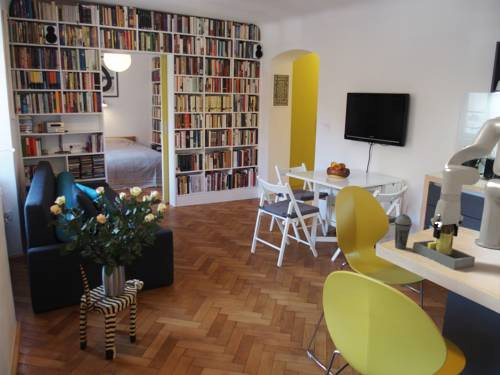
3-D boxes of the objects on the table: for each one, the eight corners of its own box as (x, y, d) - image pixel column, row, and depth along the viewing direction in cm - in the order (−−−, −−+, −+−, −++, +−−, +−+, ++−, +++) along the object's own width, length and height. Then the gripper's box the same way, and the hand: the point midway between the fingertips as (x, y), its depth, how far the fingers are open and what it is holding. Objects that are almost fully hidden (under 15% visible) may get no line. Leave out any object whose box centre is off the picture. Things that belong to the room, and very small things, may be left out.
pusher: (434, 248, 183) (435, 237, 182) (443, 252, 178) (445, 241, 177) (419, 250, 180) (421, 239, 179) (429, 254, 175) (430, 243, 174)
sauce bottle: (452, 259, 170) (459, 213, 166) (436, 258, 171) (442, 212, 167) (448, 254, 177) (454, 209, 172) (432, 252, 178) (438, 208, 174)
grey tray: (431, 248, 186) (432, 239, 185) (473, 266, 166) (475, 257, 165) (412, 250, 182) (413, 242, 181) (453, 269, 162) (455, 260, 161)
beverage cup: (389, 244, 189) (394, 202, 185) (405, 245, 189) (410, 203, 185) (394, 250, 182) (399, 206, 178) (411, 250, 182) (416, 207, 178)
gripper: (457, 194, 175) (452, 232, 179) (427, 196, 169) (422, 236, 172) (473, 198, 169) (467, 237, 172) (442, 200, 162) (436, 241, 166)
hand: (445, 236), depth 172 cm, fingers open, 9 cm apart
